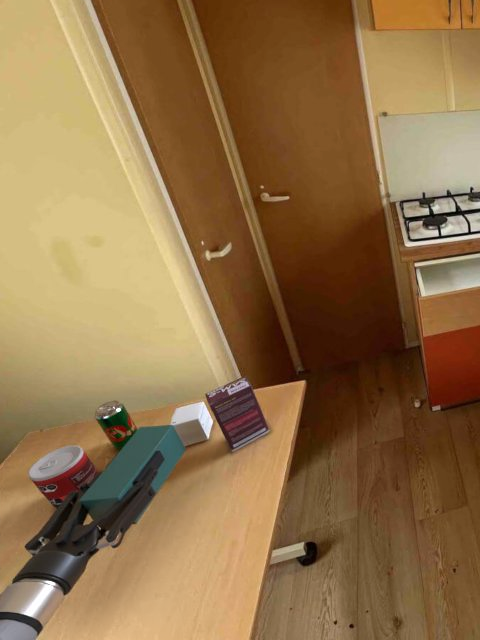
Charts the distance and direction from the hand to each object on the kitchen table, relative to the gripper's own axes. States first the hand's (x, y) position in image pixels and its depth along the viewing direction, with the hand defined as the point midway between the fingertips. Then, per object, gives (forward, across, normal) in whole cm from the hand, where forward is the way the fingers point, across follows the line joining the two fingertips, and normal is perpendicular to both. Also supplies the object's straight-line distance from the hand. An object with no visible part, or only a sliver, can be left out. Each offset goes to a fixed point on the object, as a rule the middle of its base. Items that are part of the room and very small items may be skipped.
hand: (141, 456), depth 84 cm
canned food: (+2, -18, -13) cm, 22 cm away
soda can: (+15, -17, -13) cm, 26 cm away
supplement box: (+14, +11, -13) cm, 22 cm away
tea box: (-2, 0, -2) cm, 3 cm away
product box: (+16, -2, -13) cm, 20 cm away
